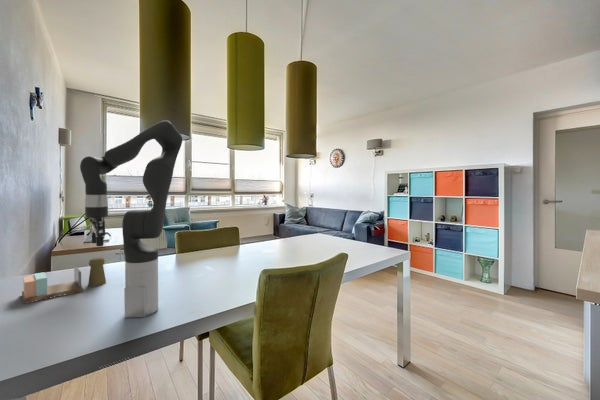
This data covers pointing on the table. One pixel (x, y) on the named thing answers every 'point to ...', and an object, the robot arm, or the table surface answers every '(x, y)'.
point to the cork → (96, 272)
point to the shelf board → (55, 291)
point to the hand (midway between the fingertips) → (97, 244)
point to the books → (35, 285)
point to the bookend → (77, 276)
